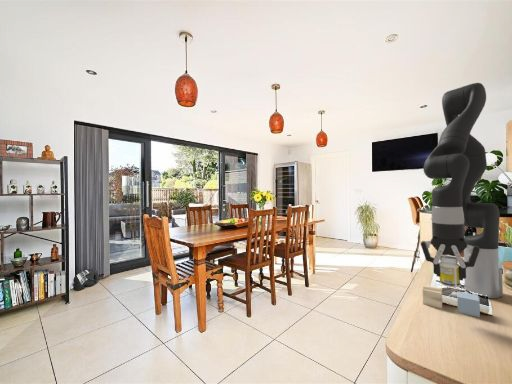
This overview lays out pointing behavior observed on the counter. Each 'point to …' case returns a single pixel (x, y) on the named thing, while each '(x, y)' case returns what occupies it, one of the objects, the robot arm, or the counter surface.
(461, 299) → the slate cube
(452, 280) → the supplement bottle
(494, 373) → the counter surface
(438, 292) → the beech cube
